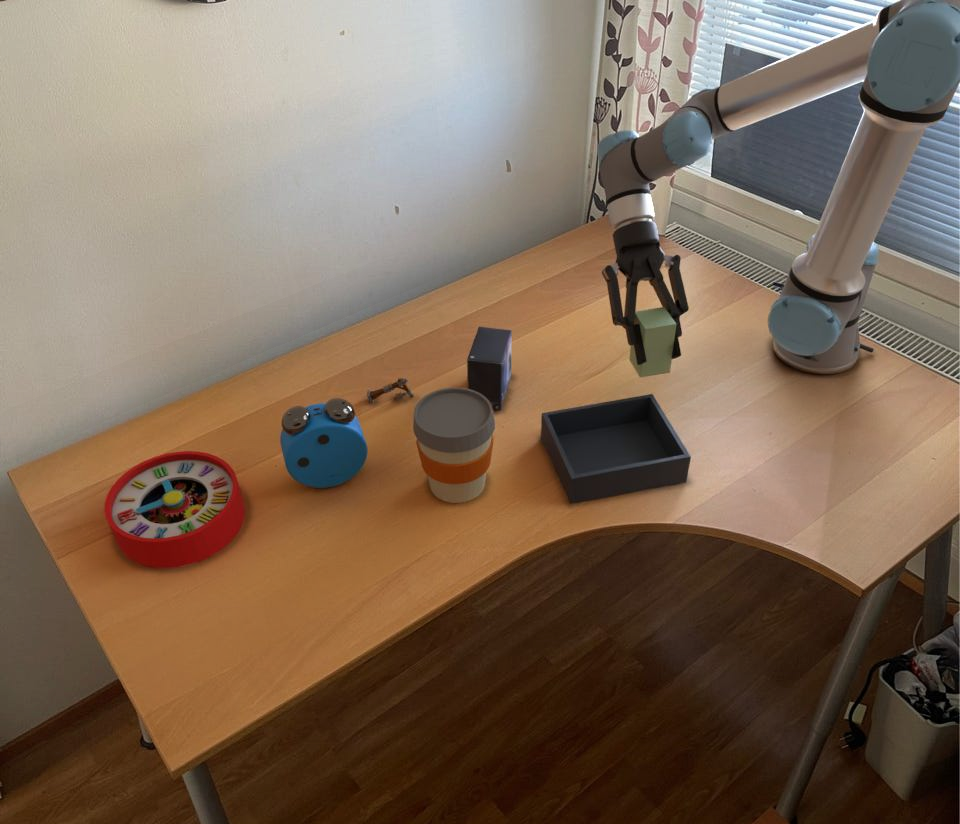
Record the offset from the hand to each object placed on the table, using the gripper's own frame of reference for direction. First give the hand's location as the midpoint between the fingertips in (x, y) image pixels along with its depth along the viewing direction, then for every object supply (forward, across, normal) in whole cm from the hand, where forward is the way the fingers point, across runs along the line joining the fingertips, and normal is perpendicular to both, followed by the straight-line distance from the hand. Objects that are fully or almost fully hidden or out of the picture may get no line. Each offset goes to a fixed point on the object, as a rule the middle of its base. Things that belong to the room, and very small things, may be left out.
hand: (659, 360), depth 154 cm
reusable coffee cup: (+15, +38, +1) cm, 41 cm away
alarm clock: (+9, +58, -4) cm, 59 cm away
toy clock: (+12, +82, -1) cm, 83 cm away
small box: (-1, +27, -14) cm, 31 cm away
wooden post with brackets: (-3, +45, -16) cm, 48 cm away
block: (0, 0, -5) cm, 5 cm away
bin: (+15, +12, +2) cm, 20 cm away
